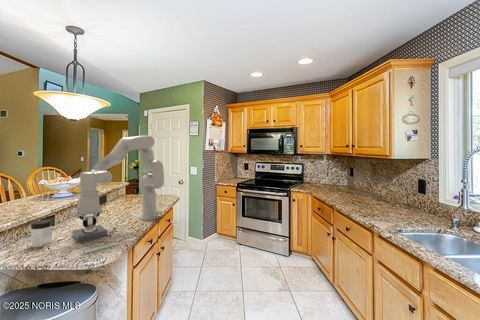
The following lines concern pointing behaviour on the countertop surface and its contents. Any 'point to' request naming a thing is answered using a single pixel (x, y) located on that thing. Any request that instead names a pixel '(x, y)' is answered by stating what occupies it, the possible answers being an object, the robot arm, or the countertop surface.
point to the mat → (99, 248)
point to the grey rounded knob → (89, 225)
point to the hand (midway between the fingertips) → (89, 225)
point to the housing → (89, 234)
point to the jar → (41, 233)
